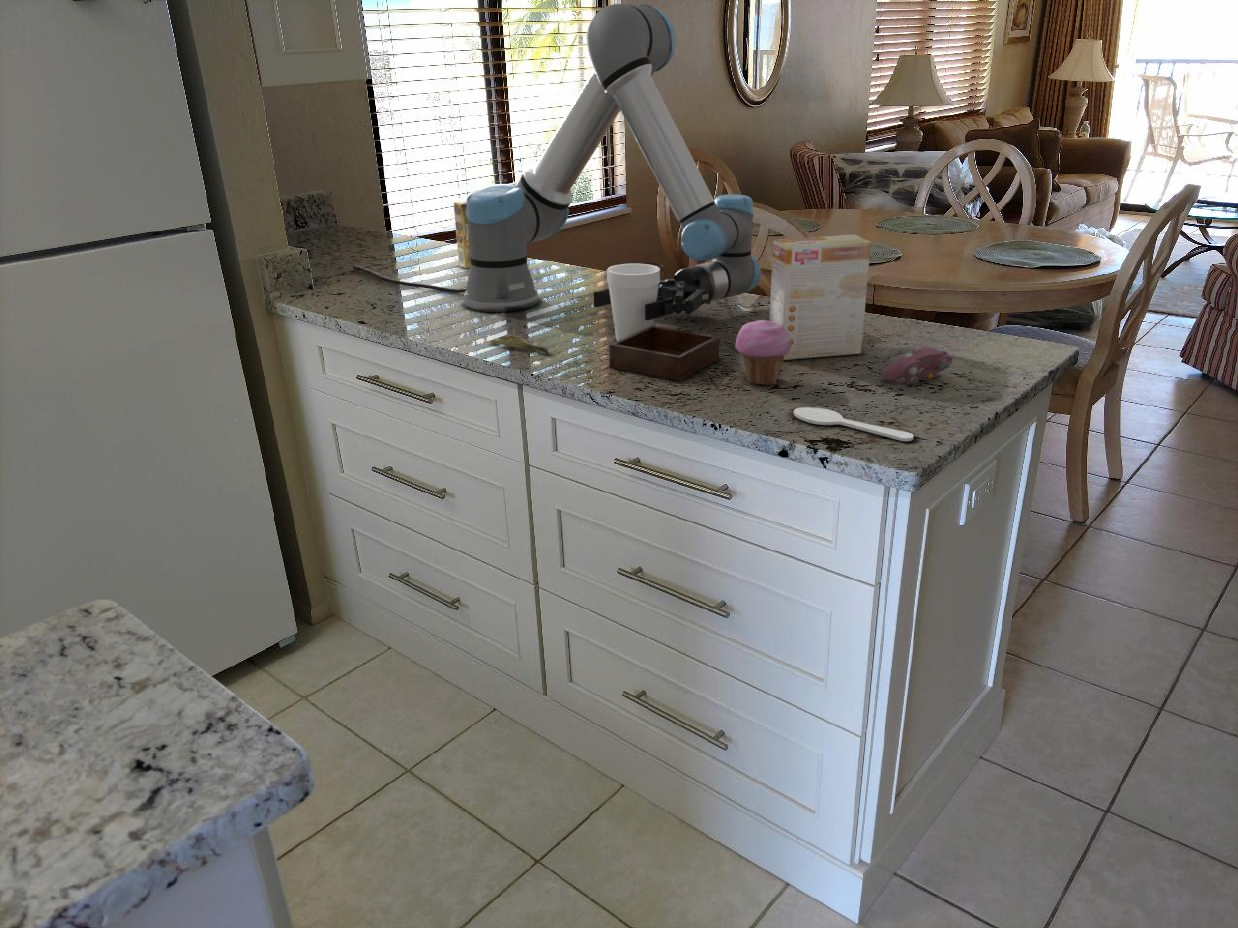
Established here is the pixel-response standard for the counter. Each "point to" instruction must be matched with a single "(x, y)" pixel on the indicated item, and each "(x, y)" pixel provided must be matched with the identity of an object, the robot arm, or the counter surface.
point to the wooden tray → (664, 352)
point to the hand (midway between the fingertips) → (620, 306)
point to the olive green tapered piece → (518, 343)
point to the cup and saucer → (662, 269)
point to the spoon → (847, 422)
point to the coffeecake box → (820, 293)
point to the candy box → (462, 234)
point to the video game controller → (918, 365)
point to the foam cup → (632, 296)
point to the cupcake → (763, 350)
